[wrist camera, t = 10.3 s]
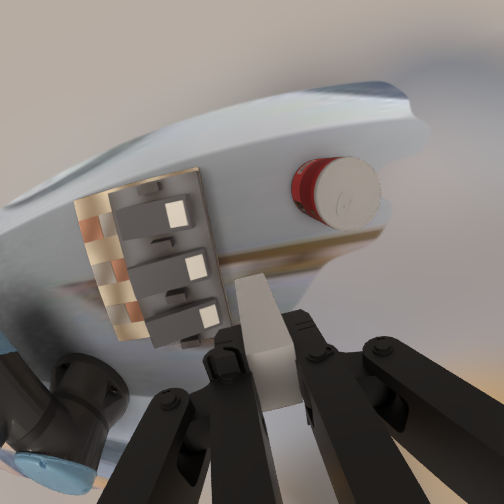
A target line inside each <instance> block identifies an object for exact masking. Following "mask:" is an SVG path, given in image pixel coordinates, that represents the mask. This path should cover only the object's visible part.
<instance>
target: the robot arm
mask: <svg viewBox="0 0 504 504" xmlns="http://www.w3.org/2000/svg"><path fill="white" fill-rule="evenodd" d="M234 281H235V288H236V295H237V302H238V308H239V315H240V321H241V325H237V326H232V327H227V328H223V329H219V331H218V332H217V334H216V335H215V348H214V349H212V350H210V351H209V352H208V353H207V354H206V355H205V356H204V358H203V364H204V366H205V369H206V371H207V374H208V377H209V379H210V383H209V384H208V385H207V386H206V387H204V388H203V389H201V390H199V391H196V392H194V393H191V394H188V393H187V392H186V391H185V390H183V389H180V388H169V389H166V390H163V391H161V392H160V393H158V394H157V395H155V396H154V398H153V399H152V400H151V402H150V404H149V406H148V407H147V409H146V411H145V413H144V415H143V417H142V419H141V420H140V422H139V424H138V426H137V428H136V430H135V432H134V433H133V435H132V437H131V439H130V441H129V443H128V445H127V447H126V448H125V450H124V452H123V454H122V456H121V458H120V460H119V462H118V464H117V465H116V467H115V469H114V471H113V473H112V475H111V477H110V479H109V481H108V483H107V485H106V487H105V488H104V490H103V493H102V494H101V496H100V498H99V500H98V502H97V504H198V502H199V498H200V495H201V492H202V488H203V485H204V481H205V478H206V474H207V471H208V467H209V464H210V460H211V487H212V504H283V502H282V497H281V493H280V488H279V484H278V480H277V475H276V471H275V466H274V461H273V457H272V452H271V447H270V443H269V438H268V433H267V428H266V424H265V420H264V417H263V413H262V412H266V411H271V410H275V409H279V408H283V407H287V406H291V405H295V404H299V403H302V402H303V400H304V403H305V409H306V416H307V423H308V425H311V428H312V430H313V433H314V436H315V439H316V442H317V444H318V447H319V450H320V453H321V455H322V458H323V461H324V464H325V467H326V470H327V472H328V475H329V478H330V481H331V483H332V486H333V489H334V492H335V495H336V497H337V500H338V503H339V504H430V502H429V500H428V498H427V497H426V495H425V493H424V491H423V490H422V488H421V486H420V484H419V483H418V481H417V479H416V478H415V476H414V474H413V473H412V471H411V469H410V467H409V466H408V464H407V462H406V461H405V459H404V457H403V456H402V454H401V452H400V451H399V449H398V447H397V446H396V444H395V442H394V441H393V439H392V437H393V438H394V439H395V440H396V441H397V442H398V443H399V444H400V445H402V446H403V447H404V448H405V449H406V450H407V451H408V452H409V453H410V454H411V455H413V456H414V457H415V458H416V459H417V460H418V461H419V462H420V463H422V464H423V465H424V466H425V467H426V468H427V469H428V470H429V471H431V472H432V473H433V474H434V475H435V476H436V477H437V478H439V479H440V480H441V481H442V482H443V483H444V484H446V485H447V486H448V487H449V488H450V489H451V490H453V491H454V492H455V493H456V494H457V495H458V496H460V497H461V498H462V499H463V500H464V501H466V502H467V503H468V504H504V405H503V404H502V403H500V402H499V401H497V400H495V399H494V398H492V397H490V396H489V395H487V394H486V393H484V392H482V391H481V390H479V389H477V388H476V387H474V386H472V385H471V384H469V383H468V382H466V381H464V380H463V379H461V378H459V377H458V376H456V375H455V374H453V373H451V372H449V371H448V370H446V369H445V368H443V367H442V366H440V365H438V364H437V363H435V362H433V361H432V360H430V359H428V358H427V357H425V356H424V355H422V354H420V353H419V352H417V351H415V350H414V349H412V348H410V347H409V346H407V345H406V344H404V343H402V342H401V341H399V340H397V339H395V338H393V337H388V336H381V337H375V338H373V339H370V340H369V341H368V342H366V343H365V345H364V346H363V351H360V352H348V353H345V352H339V351H338V350H337V349H336V348H335V347H334V346H333V345H330V344H327V342H326V341H325V339H324V338H323V336H322V334H321V333H320V331H319V329H318V328H317V326H316V324H315V323H314V321H313V319H312V318H311V316H310V315H309V313H307V312H305V311H303V310H301V309H299V310H295V311H292V312H288V313H284V314H281V313H280V311H279V309H278V306H277V304H276V302H275V299H274V297H273V294H272V292H271V290H270V287H269V285H268V283H267V280H266V278H265V276H264V273H261V274H257V275H252V276H248V277H244V278H239V279H235V280H234ZM17 351H18V350H17V349H16V348H14V347H13V345H12V344H11V343H10V342H9V340H8V339H7V338H6V336H5V335H4V334H3V332H2V331H0V449H1V447H2V446H3V444H4V443H5V442H6V443H7V444H9V445H10V446H11V447H12V448H13V449H14V450H15V451H16V454H15V455H14V462H15V464H16V466H17V467H18V468H19V470H20V471H21V472H22V473H24V474H25V475H26V476H27V477H29V478H30V479H32V480H34V481H35V482H37V483H39V484H41V485H43V486H45V487H47V488H49V489H52V490H54V491H57V492H61V493H64V494H69V495H83V494H86V493H88V492H89V491H90V490H91V487H92V485H93V482H94V480H95V477H96V476H97V469H98V466H99V462H100V459H101V455H102V452H103V448H104V445H105V441H106V438H107V435H108V432H109V430H110V428H111V427H112V426H113V425H114V424H115V423H116V422H117V421H118V420H119V419H120V418H121V417H122V416H123V414H124V413H125V411H126V408H127V405H128V401H129V394H128V390H127V387H126V385H125V383H124V382H123V380H122V379H121V377H120V376H119V375H118V374H117V373H116V372H115V371H114V370H113V369H112V368H111V367H109V366H108V365H107V364H105V363H104V362H102V361H100V360H98V359H96V358H94V357H91V356H88V355H84V354H68V355H66V356H64V357H62V358H61V359H60V360H59V361H58V363H57V364H56V366H55V367H54V369H53V372H52V377H51V384H50V391H49V390H48V389H47V388H46V387H45V386H44V385H43V383H42V382H41V381H40V380H39V379H38V378H37V376H36V375H35V374H34V373H33V371H32V370H31V369H30V368H29V366H28V365H27V364H26V362H25V361H24V360H23V358H22V357H21V356H20V354H19V353H18V352H17ZM302 397H303V399H302ZM390 435H391V436H392V437H391V436H390Z"/></svg>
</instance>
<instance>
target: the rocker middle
mask: <svg viewBox="0 0 504 504" xmlns="http://www.w3.org/2000/svg"><path fill="white" fill-rule="evenodd" d="M127 273H128V276H129V279H130V282H131V285H132V288H133V292H134V295H135V297H136V300H138V299H141V298H145V297H148V296H152V295H155V294H159V293H162V292H166V291H169V290H173V289H176V288H180V287H183V286H187V285H190V284H193V283H197V282H200V281H204V280H207V279H210V275H209V270H208V266H207V262H206V258H205V254H204V249H203V248H202V247H199V248H196V249H192V250H188V251H185V252H181V253H178V254H174V255H170V256H167V257H163V258H160V259H156V260H153V261H149V262H145V263H142V264H138V265H135V266H131V267H128V268H127Z"/></svg>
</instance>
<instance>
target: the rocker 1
mask: <svg viewBox="0 0 504 504" xmlns="http://www.w3.org/2000/svg"><path fill="white" fill-rule="evenodd" d="M115 213H116V217H117V221H118V225H119V229H120V233H121V237H122V240H123V241H126V240H132V239H137V238H142V237H148V236H154V235H159V234H165V233H171V232H177V231H183V230H188V229H193V228H194V227H196V224H195V220H194V215H193V211H192V206H191V201H190V197H189V193H187V194H183V195H178V196H173V197H169V198H164V199H160V200H156V201H151V202H147V203H143V204H139V205H135V206H131V207H127V208H123V209H119V210H116V211H115Z"/></svg>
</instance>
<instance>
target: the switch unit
mask: <svg viewBox="0 0 504 504" xmlns="http://www.w3.org/2000/svg"><path fill="white" fill-rule="evenodd" d="M187 193H189V197H190V201H191V206H192V211H193V215H194V220H195V224H196V227H194V228H193V229H188V230H183V231H177V232H171V233H165V234H159V235H154V236H148V237H142V238H137V239H132V240H126V241H123V240H122V237H121V233H120V229H119V225H118V221H117V217H116V213H115V211H116V210H119V209H123V208H127V207H131V206H135V205H139V204H143V203H147V202H151V201H156V200H160V199H164V198H169V197H173V196H178V195H183V194H187ZM74 204H75V209H76V213H77V217H78V221H79V225H80V229H81V233H82V236H83V240H84V243H85V247H86V250H87V254H88V257H89V260H90V264H91V267H92V270H93V273H94V276H95V279H96V282H97V285H98V288H99V291H100V294H101V296H102V299H103V302H104V305H105V307H106V310H107V312H108V315H109V318H110V320H111V323H112V325H113V328H114V330H115V332H116V335H117V337H118V340H119V341H126V340H133V339H140V338H146V337H150V335H149V333H148V330H147V328H146V325H145V322H144V319H146V318H149V317H152V316H155V315H158V314H161V313H164V312H167V311H171V310H174V309H177V308H180V307H183V306H186V305H189V304H192V303H195V302H198V301H201V300H204V299H207V298H210V297H214V298H215V299H216V303H217V306H218V310H219V314H220V318H221V322H222V325H221V326H218V327H215V328H213V329H210V330H207V331H204V332H202V333H199V334H196V335H193V336H190V337H187V338H184V339H181V340H178V341H176V342H173V343H170V344H167V345H172V344H178V343H180V344H181V347H182V349H186V348H192V347H198V346H200V345H201V339H207V338H212V337H215V335H216V334H217V332H218V331H219V329H223V328H227V327H232V317H231V313H230V309H229V305H228V301H227V296H226V292H225V288H224V284H223V279H222V275H221V271H220V266H219V262H218V258H217V253H216V249H215V244H214V240H213V235H212V231H211V226H210V221H209V217H208V212H207V207H206V202H205V198H204V193H203V188H202V183H201V178H200V173H199V168H198V167H196V168H191V169H187V170H182V171H178V172H174V173H170V174H166V175H162V176H158V177H154V178H150V179H146V180H142V181H139V182H135V183H131V184H128V185H124V186H121V187H117V188H114V189H110V190H107V191H104V192H100V193H97V194H94V195H91V196H88V197H85V198H82V199H78V200H75V201H74ZM199 247H202V248H203V249H204V254H205V258H206V262H207V266H208V270H209V275H210V279H207V280H204V281H200V282H197V283H193V284H190V285H187V286H183V287H180V288H176V289H173V290H169V291H166V292H162V293H159V294H155V295H152V296H148V297H145V298H141V299H138V300H136V297H135V295H134V292H133V288H132V285H131V282H130V279H129V276H128V273H127V268H128V267H131V266H135V265H138V264H142V263H145V262H149V261H153V260H156V259H160V258H163V257H167V256H170V255H174V254H178V253H181V252H185V251H188V250H192V249H196V248H199ZM164 346H165V345H164Z"/></svg>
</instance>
